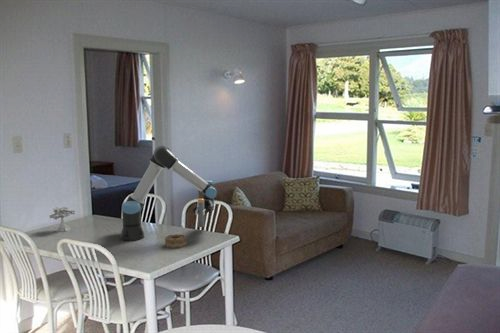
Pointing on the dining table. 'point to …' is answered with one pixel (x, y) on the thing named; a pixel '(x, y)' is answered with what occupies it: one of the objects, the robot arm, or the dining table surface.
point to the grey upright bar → (200, 213)
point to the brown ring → (175, 241)
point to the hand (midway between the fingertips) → (199, 213)
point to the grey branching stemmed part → (62, 214)
